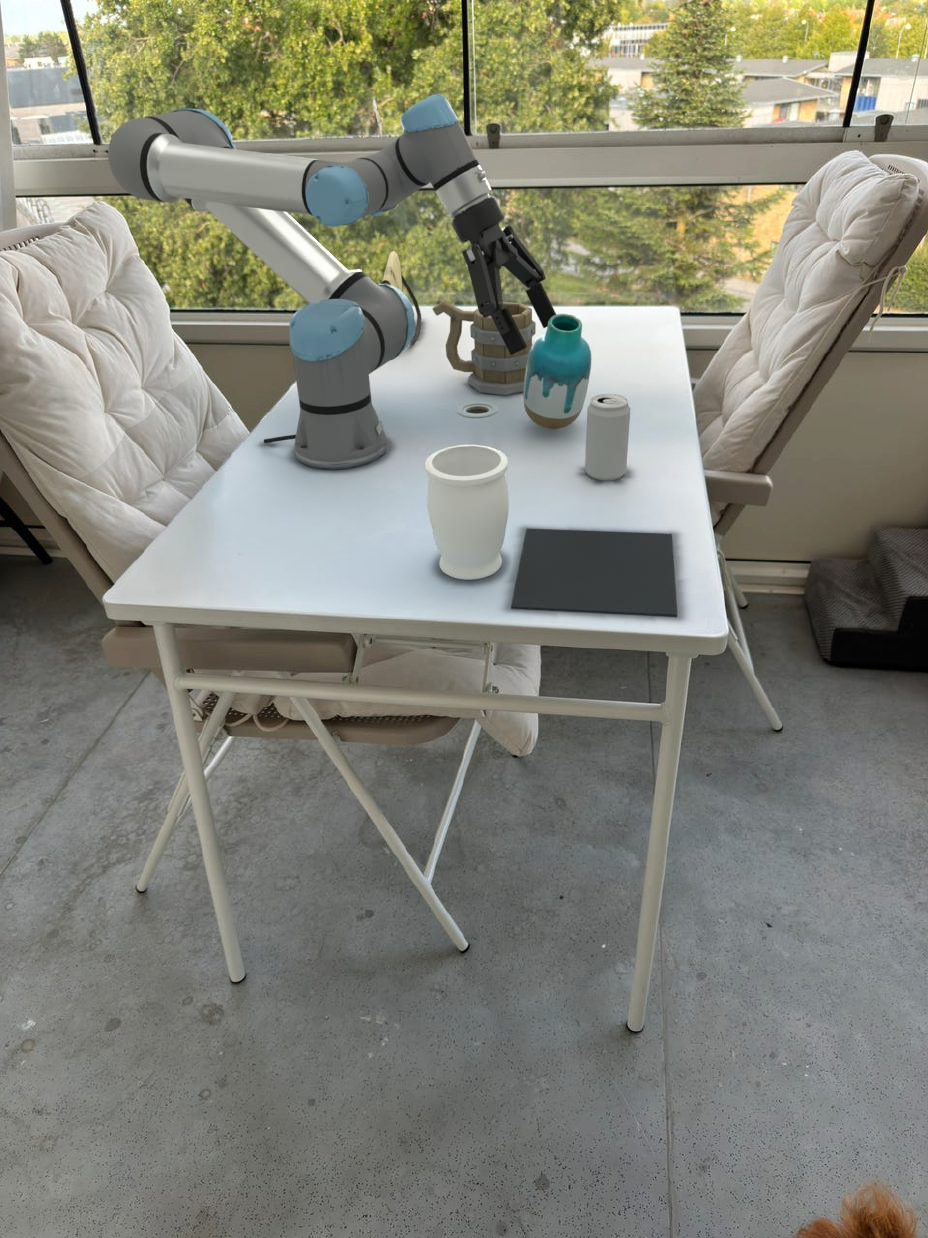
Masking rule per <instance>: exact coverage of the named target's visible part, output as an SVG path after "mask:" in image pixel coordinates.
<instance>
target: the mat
mask: <svg viewBox="0 0 928 1238" xmlns="http://www.w3.org/2000/svg"><path fill="white" fill-rule="evenodd" d="M673 546H674V545H673V533H659V532H634V531H633V532H631V531H605V530H580V529H579V530H578V529H554V528H551V529H549V528H528V527H527V528H526V530H525V533H524V539H523V545H522V550H521V556H520V560H519V565H518V570H517V575H516V579H515V580H516V581H515V585H514V590H513V596H512V601H511V607H510V609H516V610H537V611H555V612H574V613H575V612H577V613H595V614H596V613H597V614H598V613H599V614H614V615H615V614H617V615H634V616H636V615H637V616H654V617H655V616H656V617H678V609H677V608H678V607H677V593H676V577H675V562H674V547H673Z"/></svg>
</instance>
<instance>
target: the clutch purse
mask: <svg viewBox="0 0 928 1238" xmlns="http://www.w3.org/2000/svg"><path fill="white" fill-rule="evenodd" d="M381 280H382V281H381V283H380V284H386V285H392V286H394V287H396V288H398V289H399V290H400V291H402V292H403V293H404V291H403V286H404V288H405V289H406V291H407V293H408V294H409V297H410V299H411V301H412V303H413V306H414V308H415V313H416V326H415V332H414V336H413V339H412V341H411V343H412V344H413V343H415V342H416V341H417V340H418V337H419V335H420V333H421V327H422V313H421V310H420V309H421V308H420V306H419V302H418V300H417V298H416V296H415V295H414V292H413V291H412V289H411V286H410V285H409V284H408V282H407V280H406V279H405V277H404V275H403V273H402V265H401V258H400V254H399V253H398V252H397V250H394V249H392V250H391V251H389V253H388V259H387V262H386V266H385V268H384V272H383V277H382V279H381Z"/></svg>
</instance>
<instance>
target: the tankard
mask: <svg viewBox="0 0 928 1238" xmlns="http://www.w3.org/2000/svg"><path fill="white" fill-rule="evenodd" d="M506 307H508V309H509V311H510V313H511V315H512V317H513V319H514V321H515V323H516V325H517V327H518V329H519V331H520V333H521V335H522V337H523V339H524V341H525V343H526V345H527V347H526V348H525V349H523V350H521V351H519V352H517V353H515V354H513V355H510V353H509V351H508V349H507V347H506V345H505V343H504V341H503V339H502V337H501V335H500V333H499V331H498V329H497V327H496V325H495V323H494V321H493V319H492V317H491V316H489V317H487V318H484V317H483V315H481V314H480V313H479V310H478V307H477V308H476V309H475V310H473V311H472V310H463V309H461V308H459V307H457V306H454V304H451V303H450V302H448V301H446V300H443V301H441V302H440V303H438V304H436V305H434V306H433V307H432V311H433V312H434V314H435V316H439V315H441V314H443V313H444V314H446V315H447V316H449V318H450V321H449V333H448V336H447V340H446V343H445V355H446V358H447V360H448V362H449V364H450V366H451V367H452V369H453V370H455V371H459V372H463V373H470V375H468V376H467V377H468V378H467V379H468V384H469V385H470V386H471V387H472V388H474V389H475V390H476V391H478V392H479V393H480V394H489V395H500V396H509V395H513V394H519V393H524V380H525V372H526V366H527V360H528V356H529V352H530V349H531V346H532V344H533V337H534V336H535V335H536V331H537V330H536V328H537V327H536V326H537V325H536V324H537V323H536V321H534V320H533V309H532V308H531V307H529V306H528V305H525V304H524V303H521V302H511V301H509V302H507V301H503V309H504V308H506ZM463 322H472V323H471V324H470V325H469V329H470V330H469V331H470V333H469V334H470V337H471V338H472V339H473V340H474V341H473V343H474V348H473V349H472V350H471V351H470V357H471V358H470V359H471V360H464V359H461V357H460V355H459V350H458V345H459V342H460V340H461V339H460V338H461V337H462V336H461V335H462V332H463Z"/></svg>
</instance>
